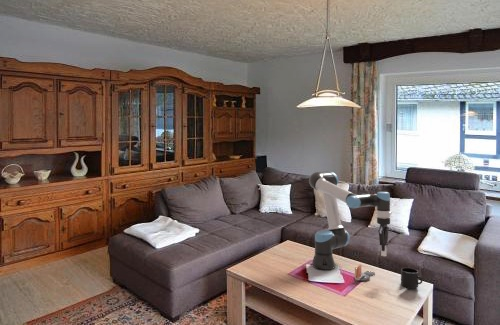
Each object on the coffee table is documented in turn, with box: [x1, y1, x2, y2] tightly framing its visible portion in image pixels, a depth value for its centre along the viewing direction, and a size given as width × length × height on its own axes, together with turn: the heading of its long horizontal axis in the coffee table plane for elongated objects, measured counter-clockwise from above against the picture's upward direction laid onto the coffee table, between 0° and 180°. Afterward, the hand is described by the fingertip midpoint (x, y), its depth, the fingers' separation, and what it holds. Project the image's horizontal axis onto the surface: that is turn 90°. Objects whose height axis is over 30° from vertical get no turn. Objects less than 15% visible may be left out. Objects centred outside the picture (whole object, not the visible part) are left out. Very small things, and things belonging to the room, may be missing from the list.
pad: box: [363, 270, 376, 277], centre depth 227 cm, size 11×11×1 cm
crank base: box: [354, 267, 371, 282], centre depth 217 cm, size 9×11×8 cm
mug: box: [400, 267, 423, 289], centre depth 206 cm, size 9×12×9 cm
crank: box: [356, 264, 366, 280], centre depth 215 cm, size 10×4×8 cm, turn 144°
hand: (383, 255), depth 213 cm, fingers closed
